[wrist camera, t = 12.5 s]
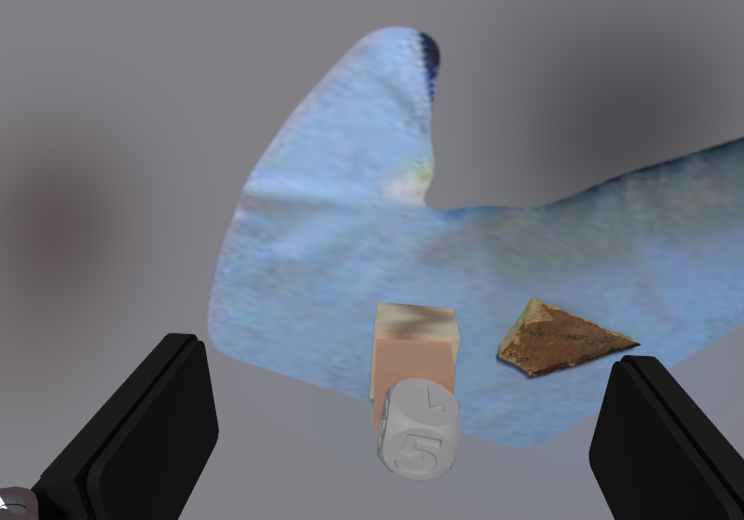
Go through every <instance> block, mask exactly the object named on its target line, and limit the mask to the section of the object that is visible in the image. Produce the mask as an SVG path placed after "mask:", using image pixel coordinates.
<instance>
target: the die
mask: <svg viewBox="0 0 744 520" xmlns="http://www.w3.org/2000/svg"><path fill="white" fill-rule="evenodd" d="M460 433H461V412H460V406H459V403H458V401H457V400H456V398H455V397H454V396H453V395H452V394H451V393H450V392H449V391H448V390H447V389H446V388H445V387H443V386H441V385H440V384H438V383H436V382H433V381H430V380H427V379H422V378H410V379H405V380H402V381H399V382H397V383H395V384H393V385H392V386H390V387H389V388H388V389H387V392H386V396H385V399H384V404H383V409H382V414H381V420H380V427H379V435H378V446H377V447H378V448H377V454H378V457H379V458H380V460H381V461H382V462H383V463H384V465H385V466H386V467H387V468H389V469H390V470H391V471H392V472H394V473H395V474H397V475H399V476H401V477H403V478H406V479H410V480H419V481H422V480H430V479H433V478H436V477H438V476H441V475H442V474H444V473H446V472H447V471H448V470H449V469H451V468H452V466H453V464H454V462H455V460H456V456H457V452H458V448H459V442H460Z"/></svg>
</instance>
